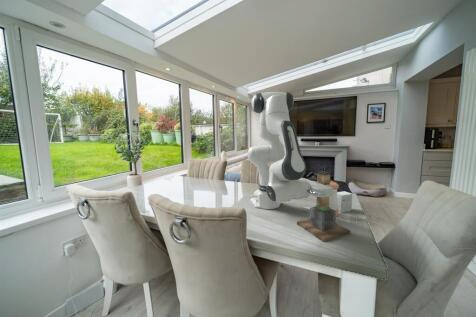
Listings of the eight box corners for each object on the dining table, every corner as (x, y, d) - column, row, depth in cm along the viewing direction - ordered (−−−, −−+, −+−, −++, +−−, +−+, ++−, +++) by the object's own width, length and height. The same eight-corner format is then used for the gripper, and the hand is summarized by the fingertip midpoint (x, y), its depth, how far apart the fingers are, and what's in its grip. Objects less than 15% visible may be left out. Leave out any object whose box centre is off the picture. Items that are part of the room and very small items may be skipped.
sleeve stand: (296, 224, 103) (296, 205, 101) (321, 218, 108) (321, 200, 107) (323, 241, 86) (323, 219, 84) (350, 233, 92) (351, 213, 90)
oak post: (315, 213, 97) (316, 171, 94) (322, 212, 99) (323, 171, 96) (322, 217, 93) (323, 173, 90) (329, 215, 95) (330, 172, 92)
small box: (343, 207, 122) (344, 190, 120) (351, 211, 116) (352, 193, 115) (333, 209, 119) (334, 192, 118) (341, 213, 114) (341, 195, 112)
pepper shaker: (332, 217, 108) (333, 183, 106) (321, 213, 115) (322, 180, 112) (340, 214, 112) (342, 181, 109) (329, 210, 118) (330, 178, 115)
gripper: (317, 187, 79) (343, 183, 84) (287, 176, 98) (310, 173, 103) (317, 202, 80) (343, 197, 85) (287, 189, 99) (309, 185, 104)
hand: (324, 184), depth 94 cm, fingers closed on oak post, 4 cm apart
